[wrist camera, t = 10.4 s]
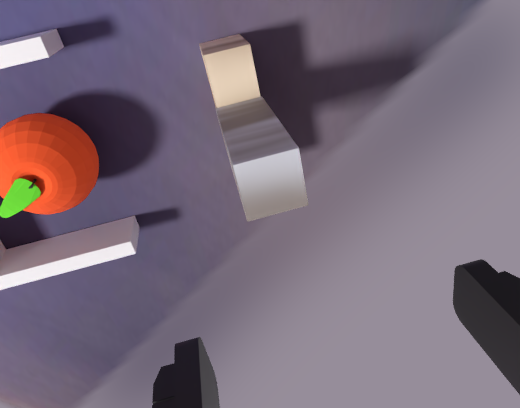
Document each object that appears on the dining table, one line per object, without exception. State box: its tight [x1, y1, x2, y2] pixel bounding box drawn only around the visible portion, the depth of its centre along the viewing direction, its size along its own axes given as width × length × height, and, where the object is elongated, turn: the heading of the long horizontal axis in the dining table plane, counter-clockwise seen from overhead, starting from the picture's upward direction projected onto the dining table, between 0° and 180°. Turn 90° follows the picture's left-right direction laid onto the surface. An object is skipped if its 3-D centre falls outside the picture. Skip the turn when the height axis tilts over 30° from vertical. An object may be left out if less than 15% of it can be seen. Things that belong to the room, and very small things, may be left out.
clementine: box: [0, 113, 99, 218], centre depth 29 cm, size 8×7×7 cm
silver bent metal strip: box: [199, 34, 308, 222], centre depth 27 cm, size 10×3×14 cm, turn 11°
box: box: [0, 29, 139, 290], centre depth 30 cm, size 16×12×4 cm
